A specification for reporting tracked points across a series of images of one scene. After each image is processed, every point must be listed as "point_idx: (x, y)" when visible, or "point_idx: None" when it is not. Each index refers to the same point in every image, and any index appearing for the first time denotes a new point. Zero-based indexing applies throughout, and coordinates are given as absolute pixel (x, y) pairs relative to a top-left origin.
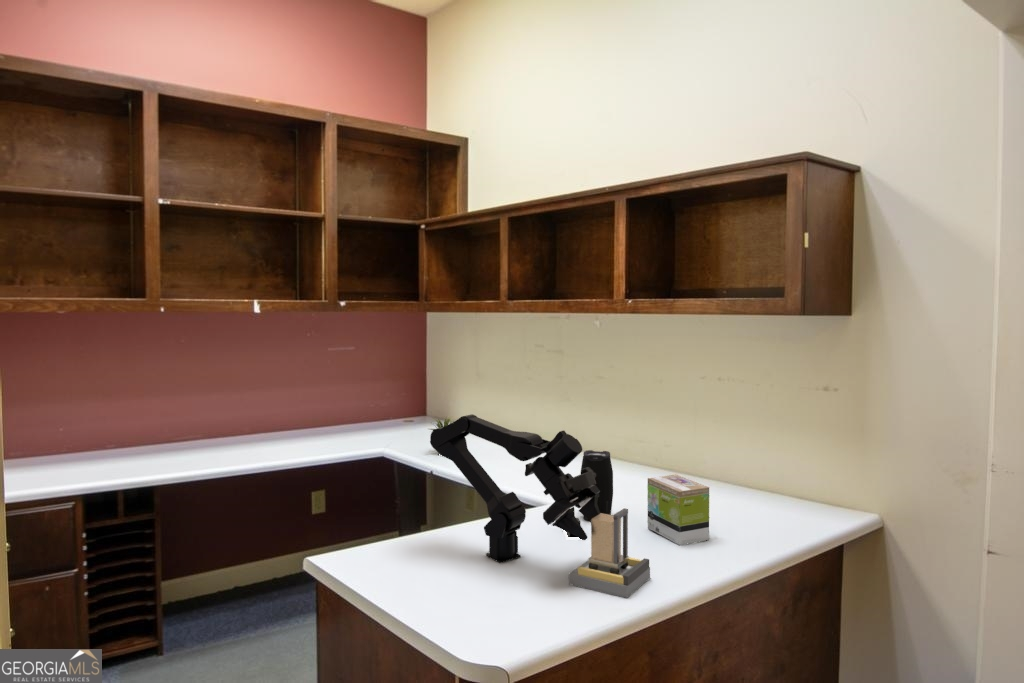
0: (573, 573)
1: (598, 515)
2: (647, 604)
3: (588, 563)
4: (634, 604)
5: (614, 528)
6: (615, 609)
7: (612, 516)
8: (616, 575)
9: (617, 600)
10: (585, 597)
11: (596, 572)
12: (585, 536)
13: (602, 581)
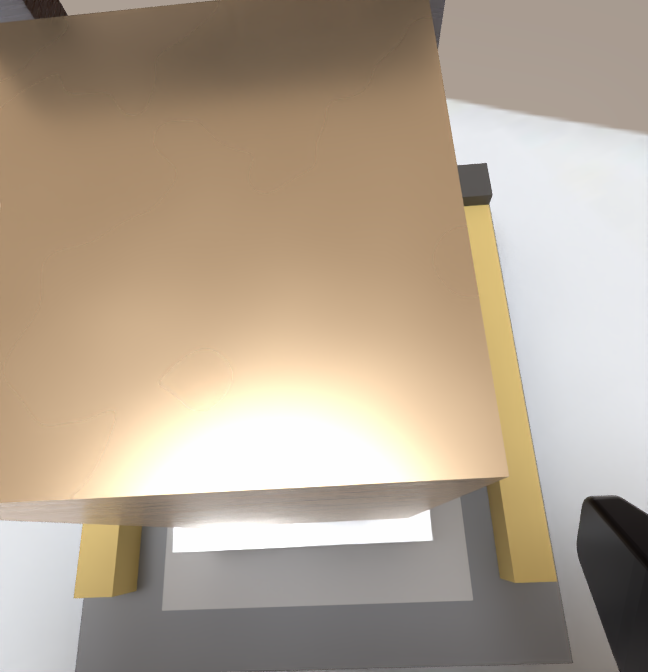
0: (546, 625)
1: (67, 459)
2: (473, 140)
3: (270, 628)
4: (516, 181)
5: (438, 17)
6: (638, 223)
7: (11, 143)
8: (481, 253)
9: (534, 263)
10: (635, 427)
11: (521, 399)
12: (644, 512)
13: (516, 356)
